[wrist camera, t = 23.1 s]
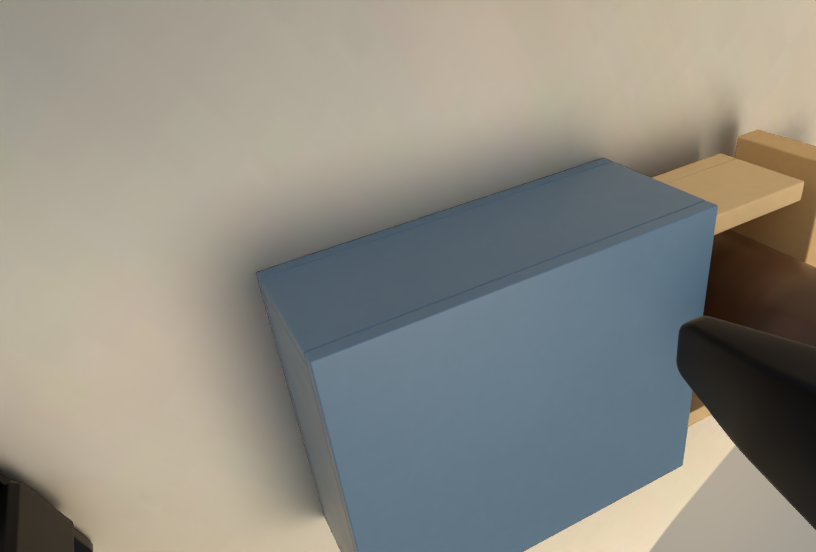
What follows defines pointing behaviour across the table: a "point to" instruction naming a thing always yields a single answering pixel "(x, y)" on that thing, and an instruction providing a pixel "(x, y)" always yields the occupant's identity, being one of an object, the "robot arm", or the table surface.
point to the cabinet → (495, 360)
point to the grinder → (761, 288)
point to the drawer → (757, 198)
